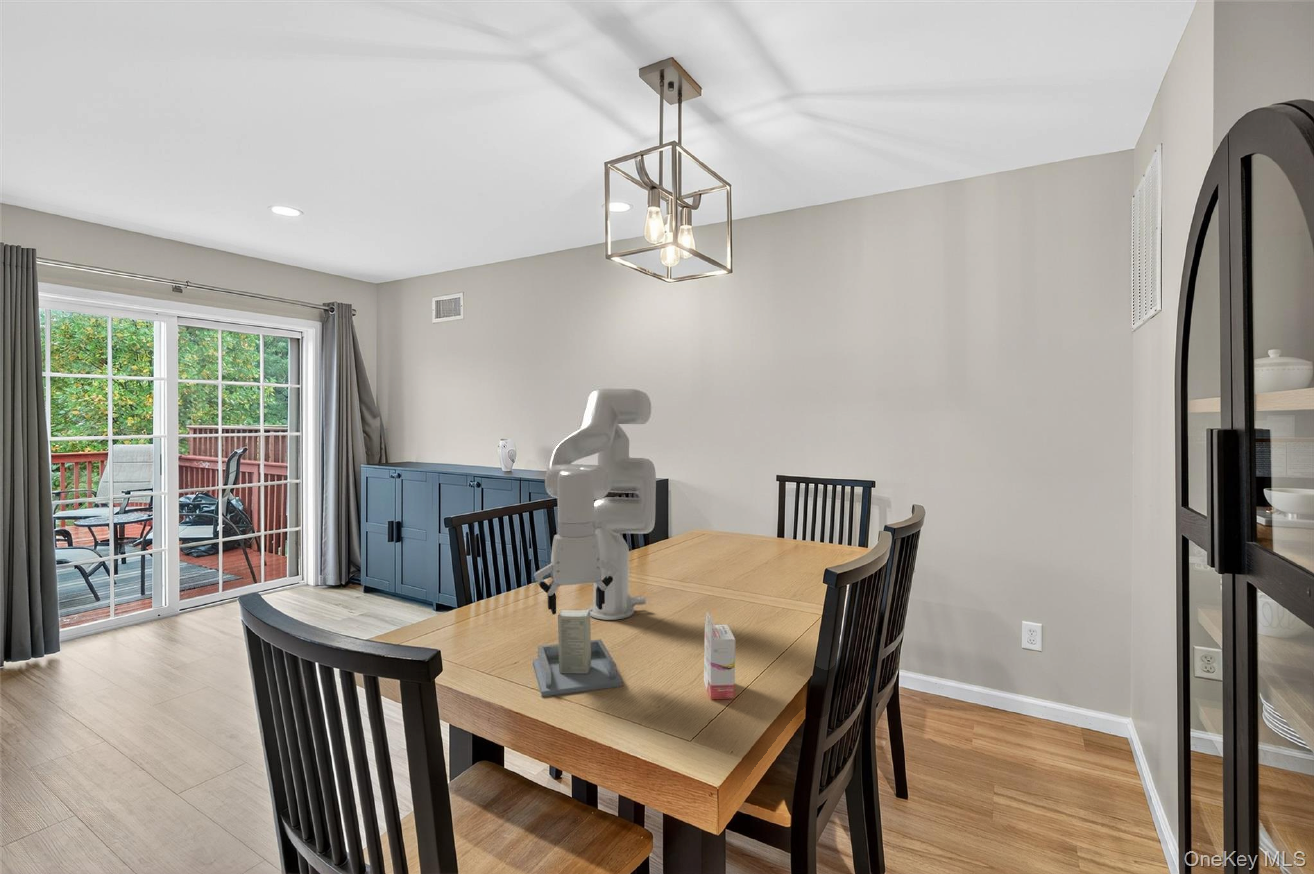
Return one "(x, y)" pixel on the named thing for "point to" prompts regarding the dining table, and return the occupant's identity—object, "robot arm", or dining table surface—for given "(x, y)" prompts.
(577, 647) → the skincare box
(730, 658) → the ink cartridge box
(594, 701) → the dining table surface
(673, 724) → the dining table surface
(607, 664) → the tray
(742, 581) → the dining table surface
